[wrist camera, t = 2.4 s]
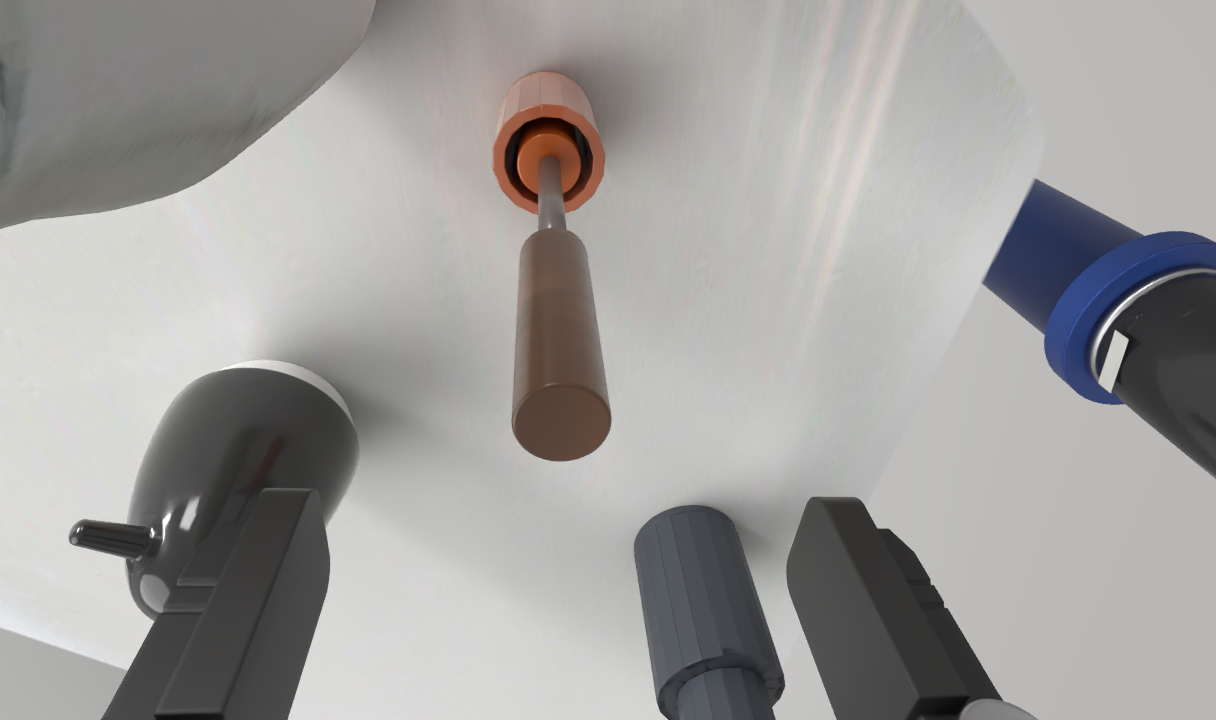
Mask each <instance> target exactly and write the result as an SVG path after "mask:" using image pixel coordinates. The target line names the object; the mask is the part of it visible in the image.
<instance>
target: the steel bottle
mask: <svg viewBox="0 0 1216 720" xmlns="http://www.w3.org/2000/svg"><path fill="white" fill-rule="evenodd" d="M634 552H635V562H636V569H637V575H638V582H639V588H640V595H641V601H642V608H643V615H644V621H645V628H646V634H647V641H648V647H649V654H650V660H651V667H652V673H653V680H654V687H655V693H656V700H657V704H658V707H659V710H660V712H661V713H662V714H663V715H664V716H665V717H666V718H667V719H668V720H776V719H775V716H774V713H773V709H772V707H773V705H774V704H775V703H776V702H777V701H778V700H779V699H780V698H781V695H782V693H783V690H784V687H785V680H784V674H783V671H782V668H781V665H780V662H779V659H778V656H777V653H776V650H775V647H774V643H773V640H772V637H771V634H770V631H769V628H768V625H767V622H766V619H765V616H764V613H763V610H762V607H761V604H760V600H759V597H758V594H757V591H756V588H755V585H754V582H753V579H752V576H751V573H750V570H749V567H748V564H747V561H746V557H745V554H744V551H743V548H742V545H741V542H740V539H739V536H738V533H737V531H736V529H735V526H734V524H733V523H732V521H731V520H730V519H729V518H728V517H727V516H726V515H724V514H723V513H721V512H719V511H717V510H715V509H712V508H708V507H703V506H683V507H678V508H673V509H670V510H667V511H665V512H663V513H660V514H659V515H657V516H655V517H654V518H652V519H651V520H649V521H648V522H647V523H646V524H645V525H644V526H643V527H642V528H641V530H640V531H639V533H638V535H637V537H636V540H635V543H634Z"/></svg>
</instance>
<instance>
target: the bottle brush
mask: <svg viewBox="0 0 1216 720" xmlns="http://www.w3.org/2000/svg"><path fill="white" fill-rule="evenodd" d="M517 169H518V173H519V176H520V179H521V180H522V182H523V183H524V185H525V186H526V187H527V188H528V189H529V190H531V191H532V192H534V193H536V194H538V231H537V232H536V233H534V234H533V235H531V236H530V237H529V238H528V239H527V240H526V241H525V243H524V245H523V247H522V249H521V253H520V264H519V284H518V304H517V324H516V344H515V364H514V384H513V404H512V429H513V433H514V435H515V437H516V439H517V441H518V442H519V443H520V445H521V446H522V447H523V448H524V449H525V450H527V451H528V452H529V453H531V454H533V455H534V456H536V457H539V458H542V459H545V460H550V461H571V460H575V459H579V458H582V457H584V456H586V455H588V454H590V453H592V452H593V451H595V450H596V449H597V448H598V447H599V446H600V445H601V444H602V443H603V442H604V440H605V439H606V437H607V435H608V433H609V431H610V427H611V419H612V418H611V411H610V404H609V397H608V391H607V384H606V377H605V370H604V364H603V357H602V350H601V344H600V337H599V330H598V323H597V317H596V310H595V303H594V297H593V290H592V283H591V277H590V270H589V263H588V256H587V251H586V248H585V246H584V244H583V243H582V241H581V240H580V239H579V238H578V237H577V236H576V235H575V234H573V233H572V232H570V231H568V230H566V221H565V210H564V200H563V193H565V192H567V191H568V190H570V189H571V188H572V187H573V186H574V185H575V183H576V182H577V180H578V178H579V175H580V171H581V160H580V154H579V148H578V143H577V137H576V132H575V126H574V125H573V124H571V123H569V122H567V121H565V120H563V119H561V118H552V117H540V118H537V119H534V120H531V121H528V122H525V123H524V124H523V125H522V126H521V127H520V133H519V145H518V158H517Z"/></svg>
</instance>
